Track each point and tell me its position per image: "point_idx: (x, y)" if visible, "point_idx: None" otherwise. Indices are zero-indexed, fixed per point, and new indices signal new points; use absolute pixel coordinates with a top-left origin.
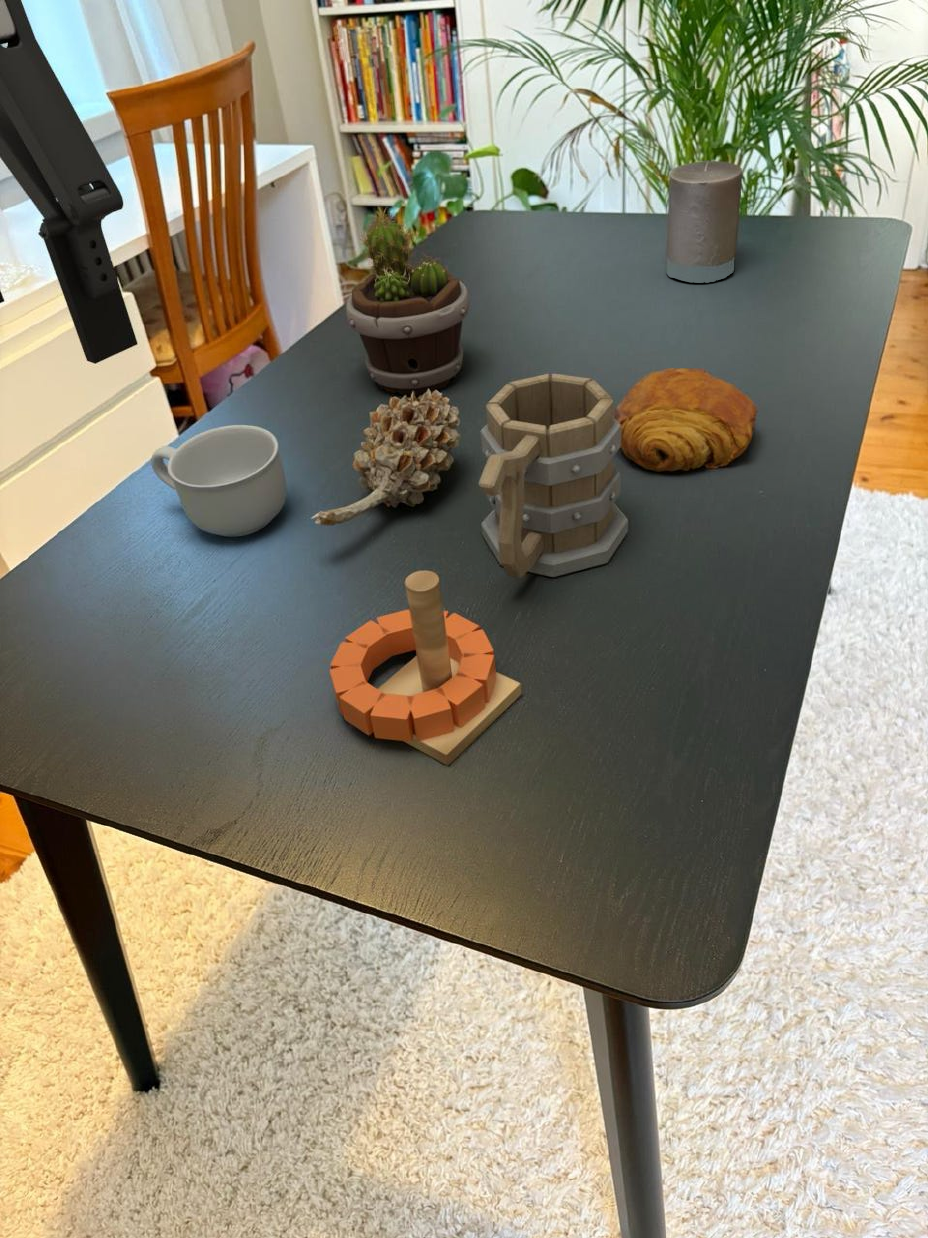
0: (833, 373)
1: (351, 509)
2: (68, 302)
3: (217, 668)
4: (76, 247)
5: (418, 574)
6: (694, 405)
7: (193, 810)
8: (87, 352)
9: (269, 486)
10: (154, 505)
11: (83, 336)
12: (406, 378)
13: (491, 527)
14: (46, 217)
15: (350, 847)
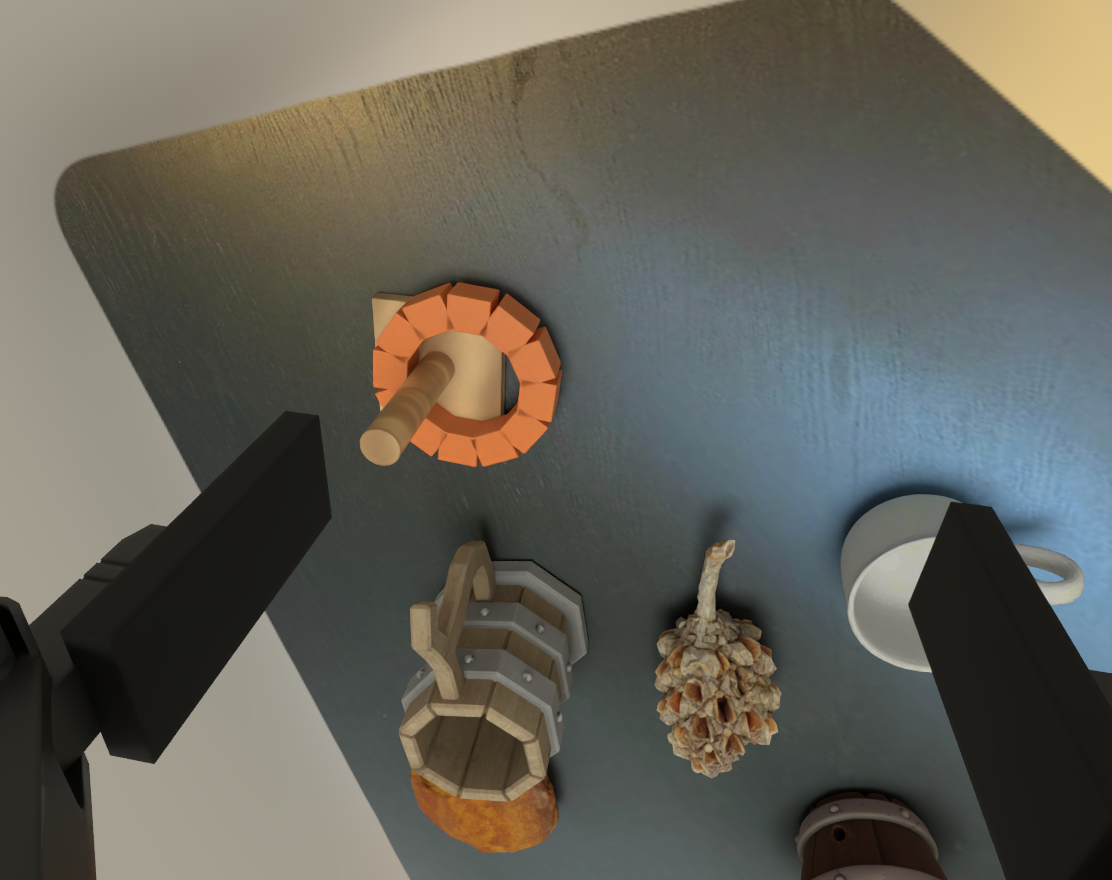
0: (432, 872)
1: (706, 574)
2: (224, 497)
3: (727, 293)
4: (54, 622)
5: (390, 455)
6: (451, 801)
7: (573, 87)
8: (289, 425)
9: (844, 579)
10: (1083, 522)
11: (263, 446)
12: (844, 812)
13: (560, 603)
14: (23, 684)
15: (381, 147)
